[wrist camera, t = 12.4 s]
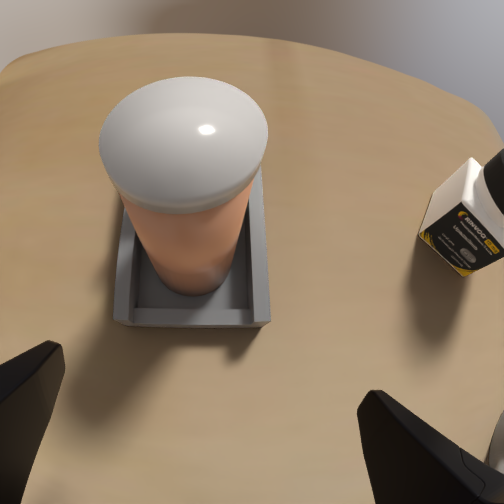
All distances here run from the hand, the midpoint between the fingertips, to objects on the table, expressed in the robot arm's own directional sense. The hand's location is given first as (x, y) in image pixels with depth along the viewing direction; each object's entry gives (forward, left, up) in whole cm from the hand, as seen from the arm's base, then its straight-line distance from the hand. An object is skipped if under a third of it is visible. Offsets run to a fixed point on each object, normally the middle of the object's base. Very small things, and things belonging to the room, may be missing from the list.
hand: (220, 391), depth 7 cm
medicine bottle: (+26, +3, -13) cm, 29 cm away
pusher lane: (+3, +12, -13) cm, 17 cm away
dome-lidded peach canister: (+1, +8, -12) cm, 15 cm away
